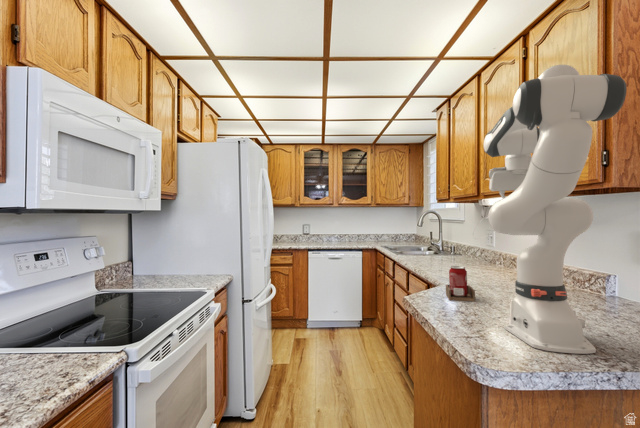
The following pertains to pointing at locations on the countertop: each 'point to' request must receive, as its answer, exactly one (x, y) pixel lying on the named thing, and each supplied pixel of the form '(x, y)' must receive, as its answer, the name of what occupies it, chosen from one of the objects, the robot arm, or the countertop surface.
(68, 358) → the countertop surface
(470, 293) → the can rest
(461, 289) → the soda can
